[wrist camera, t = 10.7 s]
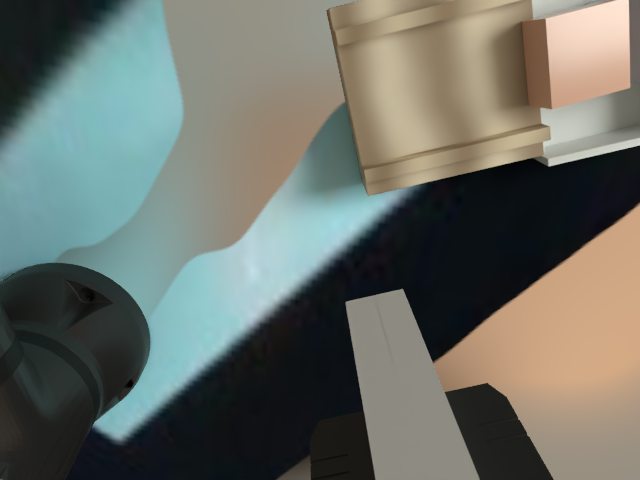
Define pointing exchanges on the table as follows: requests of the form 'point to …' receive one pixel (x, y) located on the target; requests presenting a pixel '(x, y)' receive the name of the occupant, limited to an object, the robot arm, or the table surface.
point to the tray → (588, 114)
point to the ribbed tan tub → (435, 87)
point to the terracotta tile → (577, 53)
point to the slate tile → (633, 39)
